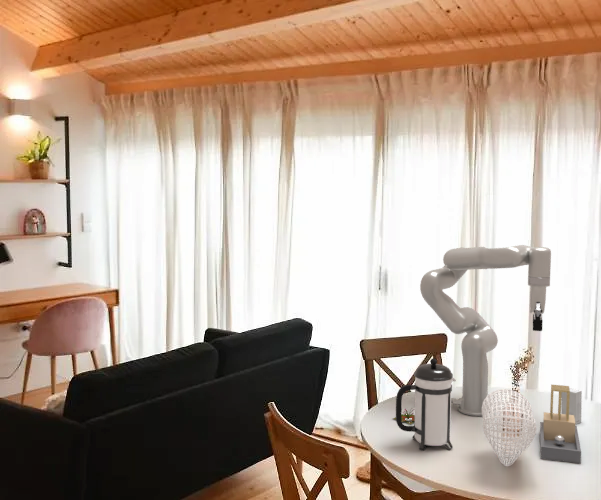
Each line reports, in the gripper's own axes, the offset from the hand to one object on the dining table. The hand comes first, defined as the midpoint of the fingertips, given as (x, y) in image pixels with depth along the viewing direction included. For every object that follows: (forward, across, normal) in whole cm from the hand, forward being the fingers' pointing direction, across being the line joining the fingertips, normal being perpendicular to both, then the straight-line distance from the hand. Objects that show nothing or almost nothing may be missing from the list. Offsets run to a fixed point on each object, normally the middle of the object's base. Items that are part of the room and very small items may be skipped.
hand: (537, 327), depth 247 cm
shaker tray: (+36, +20, +8) cm, 42 cm away
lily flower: (+37, +10, -45) cm, 59 cm away
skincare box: (+36, -8, +13) cm, 40 cm away
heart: (+36, +41, -8) cm, 56 cm away
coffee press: (+36, +32, -34) cm, 59 cm away
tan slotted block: (+28, +13, +8) cm, 32 cm away
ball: (+34, +20, +8) cm, 40 cm away
